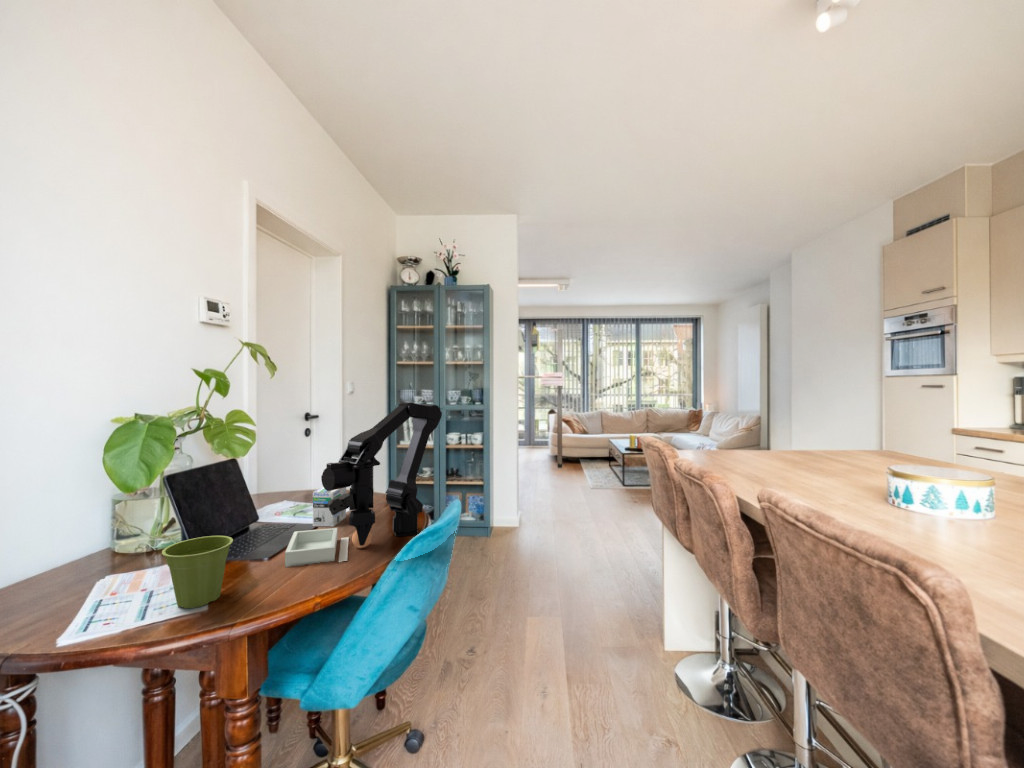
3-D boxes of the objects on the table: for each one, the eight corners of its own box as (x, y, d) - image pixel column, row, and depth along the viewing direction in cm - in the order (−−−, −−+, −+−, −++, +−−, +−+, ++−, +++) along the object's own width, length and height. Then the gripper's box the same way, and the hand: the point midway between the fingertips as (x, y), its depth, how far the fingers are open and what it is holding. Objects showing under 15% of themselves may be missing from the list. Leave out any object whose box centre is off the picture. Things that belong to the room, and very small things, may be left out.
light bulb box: (333, 527, 139) (333, 492, 139) (311, 527, 139) (311, 491, 139) (346, 516, 149) (346, 484, 149) (326, 516, 149) (326, 484, 149)
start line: (348, 537, 129) (348, 537, 129) (347, 561, 112) (347, 560, 112) (341, 538, 128) (341, 538, 128) (338, 562, 111) (338, 561, 111)
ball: (371, 543, 125) (371, 525, 125) (371, 549, 120) (371, 530, 120) (352, 545, 123) (352, 527, 123) (351, 551, 118) (351, 532, 118)
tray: (337, 540, 127) (337, 527, 127) (334, 561, 112) (334, 547, 112) (294, 544, 123) (294, 531, 123) (285, 567, 108) (285, 552, 108)
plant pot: (225, 582, 100) (225, 531, 100) (239, 601, 91) (239, 545, 91) (157, 600, 92) (157, 544, 92) (166, 622, 83) (166, 561, 83)
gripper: (331, 478, 128) (331, 533, 128) (327, 494, 110) (327, 558, 110) (373, 476, 131) (372, 530, 131) (375, 490, 114) (375, 552, 114)
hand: (361, 541), depth 121 cm, fingers closed on ball, 5 cm apart
